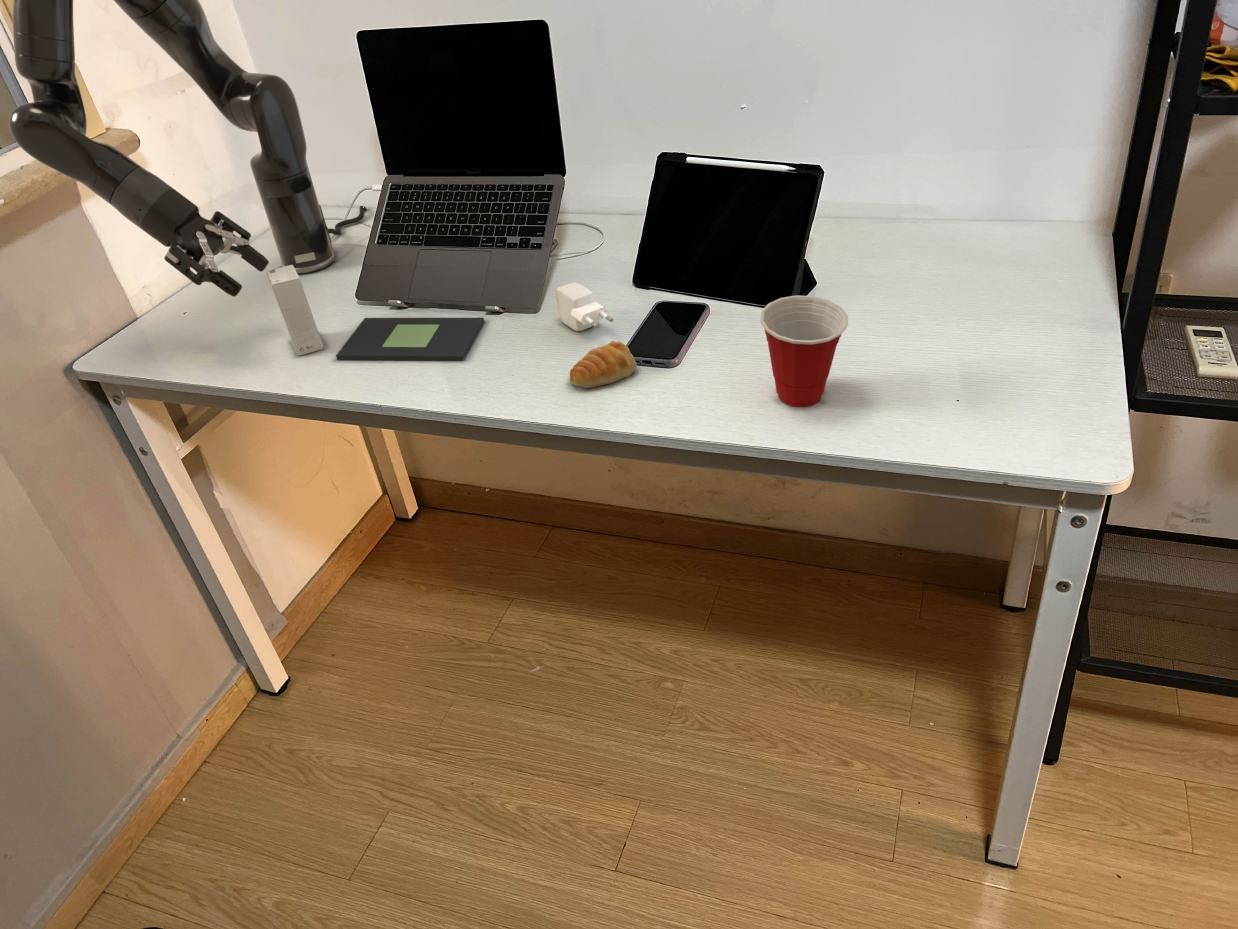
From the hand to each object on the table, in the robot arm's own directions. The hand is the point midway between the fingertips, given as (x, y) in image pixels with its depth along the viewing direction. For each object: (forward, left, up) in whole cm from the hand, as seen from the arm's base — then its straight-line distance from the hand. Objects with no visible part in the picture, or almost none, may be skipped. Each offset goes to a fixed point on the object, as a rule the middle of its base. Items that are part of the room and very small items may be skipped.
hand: (252, 279), depth 138 cm
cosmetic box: (0, +5, -12) cm, 13 cm away
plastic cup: (+13, +81, -12) cm, 83 cm away
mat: (-2, +22, -11) cm, 25 cm away
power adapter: (-5, +49, -12) cm, 51 cm away
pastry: (+8, +54, -12) cm, 56 cm away
